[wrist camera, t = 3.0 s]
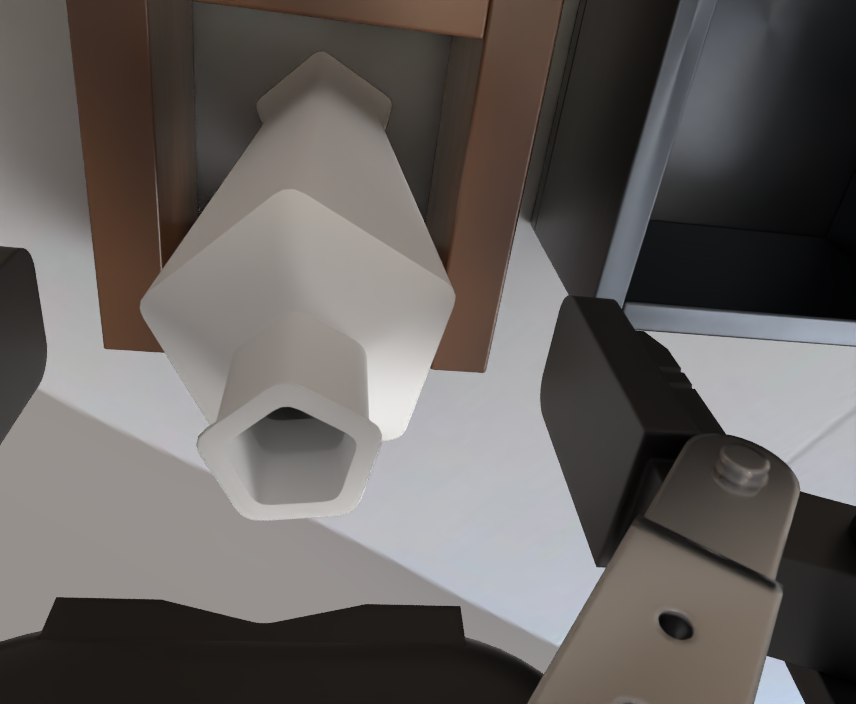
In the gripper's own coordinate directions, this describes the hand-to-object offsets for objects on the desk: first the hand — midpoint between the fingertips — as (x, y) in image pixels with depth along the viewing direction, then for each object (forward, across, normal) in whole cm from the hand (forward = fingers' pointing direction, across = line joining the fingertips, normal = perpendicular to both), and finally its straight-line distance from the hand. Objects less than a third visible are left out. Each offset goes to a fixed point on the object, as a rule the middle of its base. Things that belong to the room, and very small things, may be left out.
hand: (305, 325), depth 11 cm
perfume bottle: (+12, 0, 0) cm, 12 cm away
